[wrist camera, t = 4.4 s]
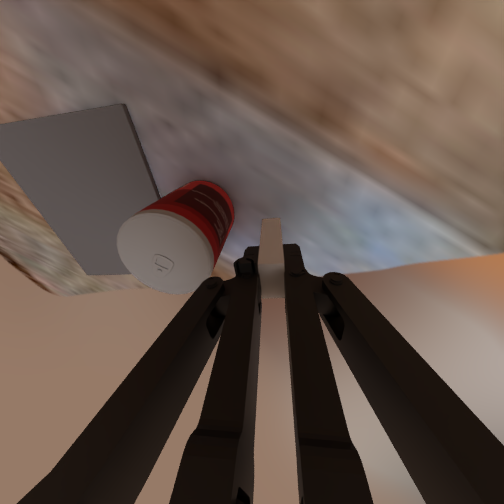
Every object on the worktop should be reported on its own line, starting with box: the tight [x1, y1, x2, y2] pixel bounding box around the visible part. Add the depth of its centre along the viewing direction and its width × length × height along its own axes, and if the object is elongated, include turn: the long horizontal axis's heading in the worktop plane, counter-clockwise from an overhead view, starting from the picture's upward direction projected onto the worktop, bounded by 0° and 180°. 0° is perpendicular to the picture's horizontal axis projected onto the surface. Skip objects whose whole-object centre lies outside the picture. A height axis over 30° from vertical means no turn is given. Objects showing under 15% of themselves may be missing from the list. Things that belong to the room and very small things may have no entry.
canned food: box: [117, 181, 234, 294], centre depth 19 cm, size 8×8×11 cm
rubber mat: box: [0, 104, 161, 275], centre depth 25 cm, size 21×18×1 cm
